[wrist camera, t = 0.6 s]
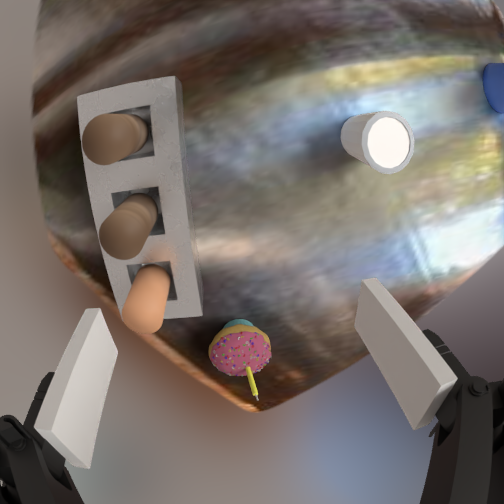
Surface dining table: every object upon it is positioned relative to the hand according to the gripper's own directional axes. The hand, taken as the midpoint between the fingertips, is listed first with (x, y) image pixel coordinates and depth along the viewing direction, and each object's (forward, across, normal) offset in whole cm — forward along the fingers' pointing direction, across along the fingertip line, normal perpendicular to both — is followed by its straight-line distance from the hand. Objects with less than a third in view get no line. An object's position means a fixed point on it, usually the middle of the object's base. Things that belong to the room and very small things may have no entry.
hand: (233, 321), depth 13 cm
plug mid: (+19, -8, 0) cm, 21 cm away
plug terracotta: (+19, -8, -8) cm, 22 cm away
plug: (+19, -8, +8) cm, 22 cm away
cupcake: (+24, 0, -21) cm, 32 cm away
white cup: (+24, +18, +6) cm, 31 cm away
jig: (+24, -8, 0) cm, 25 cm away
